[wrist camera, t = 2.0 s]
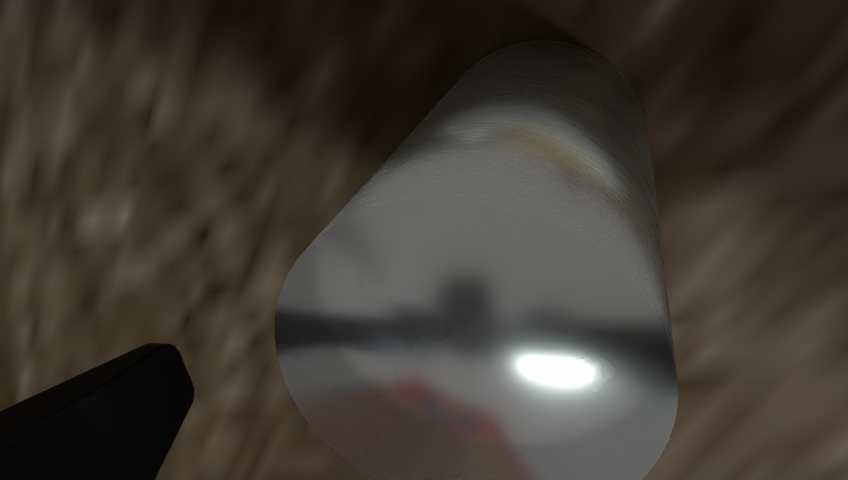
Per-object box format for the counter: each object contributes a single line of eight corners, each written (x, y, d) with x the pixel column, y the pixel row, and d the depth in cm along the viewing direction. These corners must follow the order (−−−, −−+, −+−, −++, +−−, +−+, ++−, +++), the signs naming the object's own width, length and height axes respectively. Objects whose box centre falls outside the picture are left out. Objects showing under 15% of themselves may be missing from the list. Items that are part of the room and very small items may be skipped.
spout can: (648, 25, 14) (682, 187, 6) (649, 301, 17) (672, 637, 9) (424, 53, 15) (225, 207, 8) (463, 299, 18) (352, 582, 11)
